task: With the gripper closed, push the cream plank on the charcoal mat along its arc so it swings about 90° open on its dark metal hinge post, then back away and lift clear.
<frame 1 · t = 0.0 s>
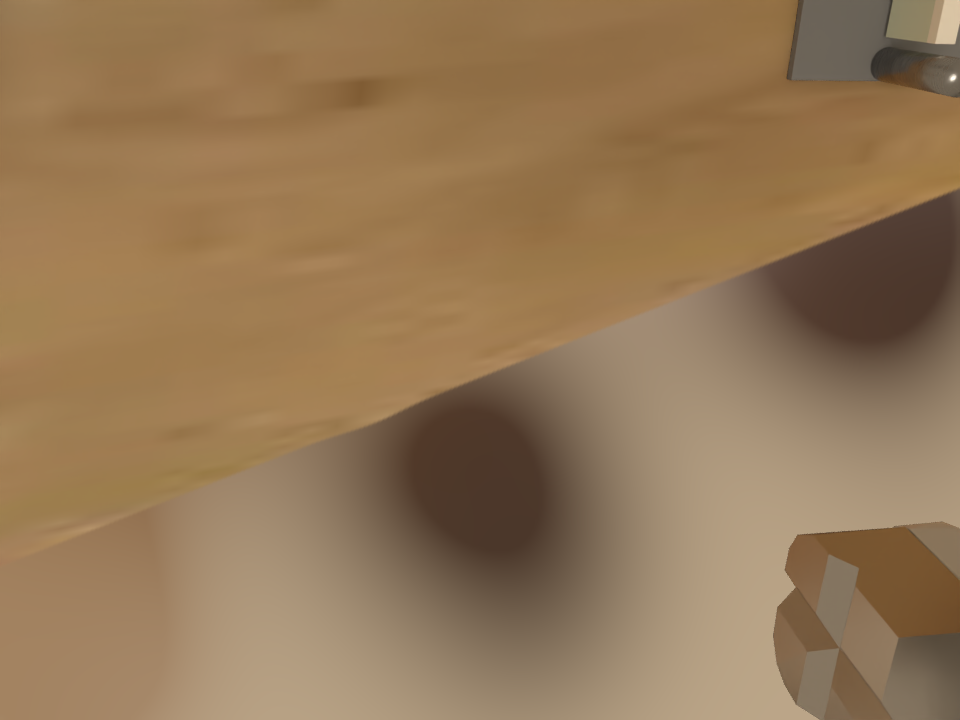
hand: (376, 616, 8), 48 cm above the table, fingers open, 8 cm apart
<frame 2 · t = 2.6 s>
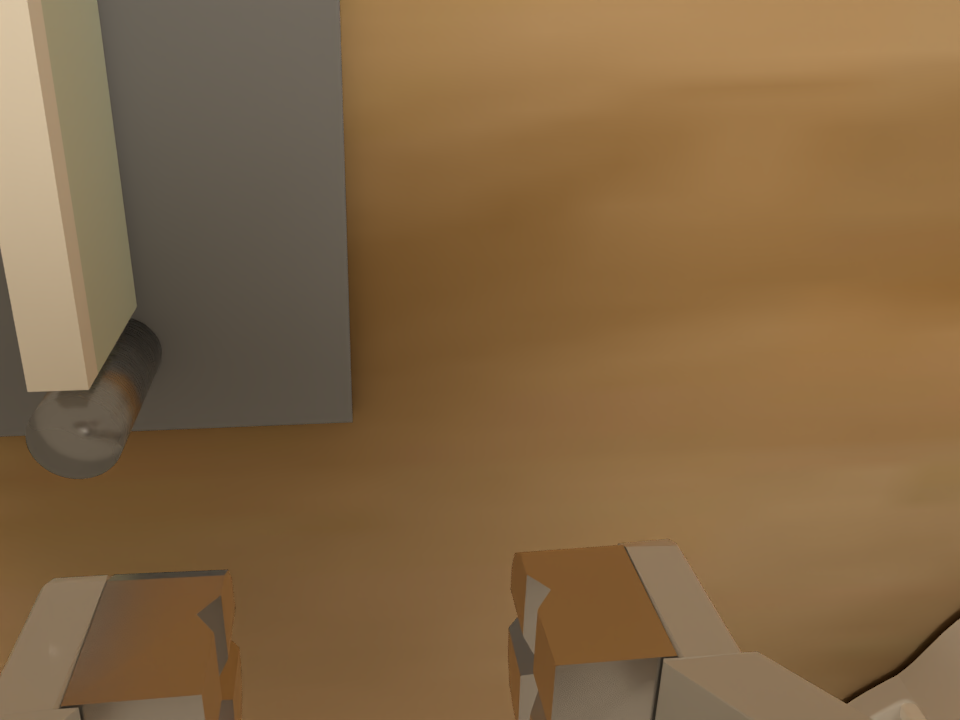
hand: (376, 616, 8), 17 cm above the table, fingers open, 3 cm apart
cream plank: (51, 109, 19), point 4 cm above the table, hinge at 0.0°
gate posts: (96, 113, 22), resting on yard mat
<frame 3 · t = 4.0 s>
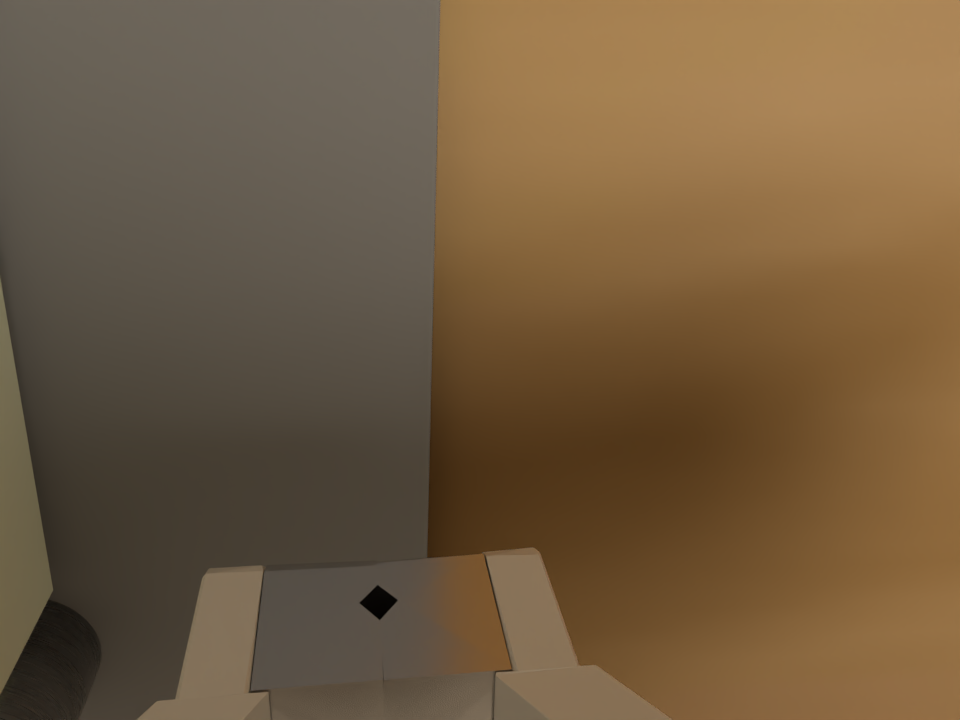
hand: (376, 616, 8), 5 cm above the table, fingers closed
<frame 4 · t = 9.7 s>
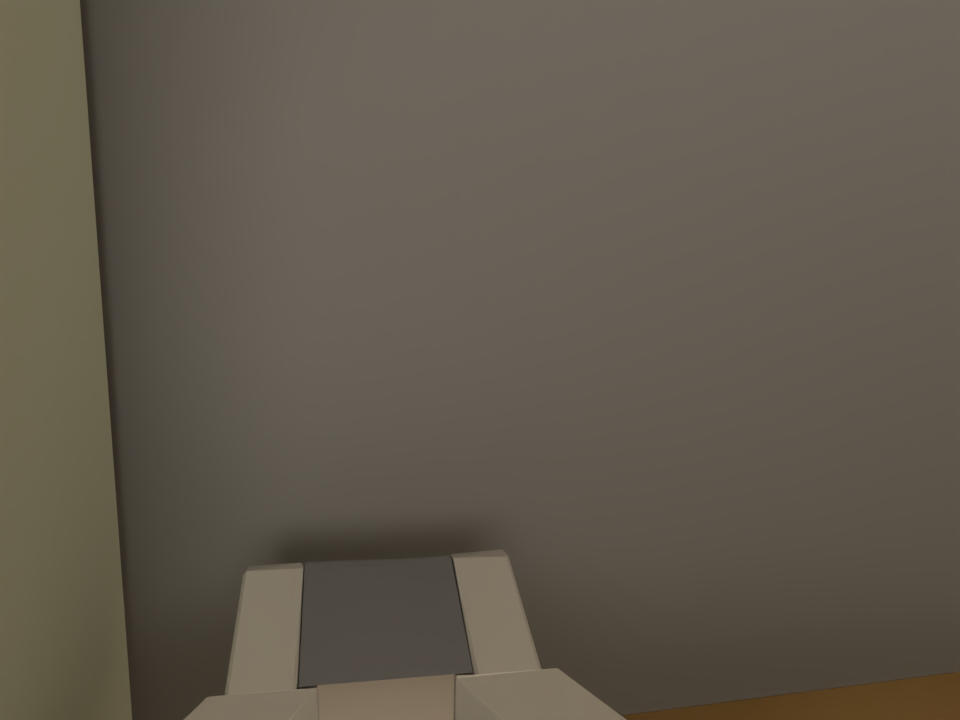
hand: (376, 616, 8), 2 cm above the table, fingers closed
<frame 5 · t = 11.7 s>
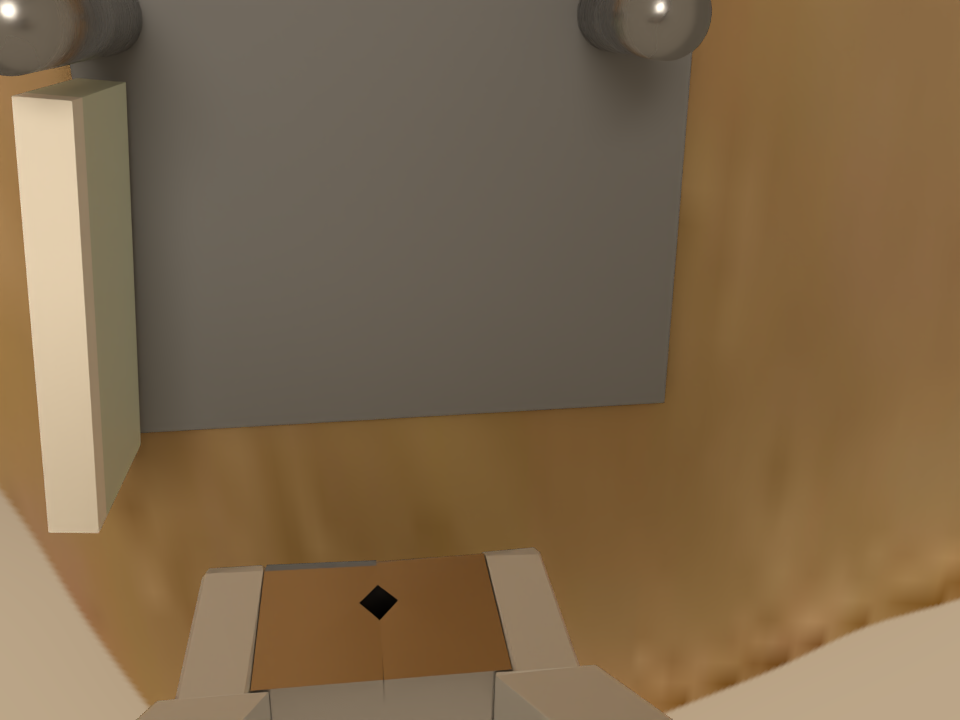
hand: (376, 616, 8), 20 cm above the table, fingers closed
yard mat: (395, 125, 26), on the table
cream plank: (88, 302, 23), point 4 cm above the table, hinge at 95.6°
gate posts: (391, 13, 25), resting on yard mat
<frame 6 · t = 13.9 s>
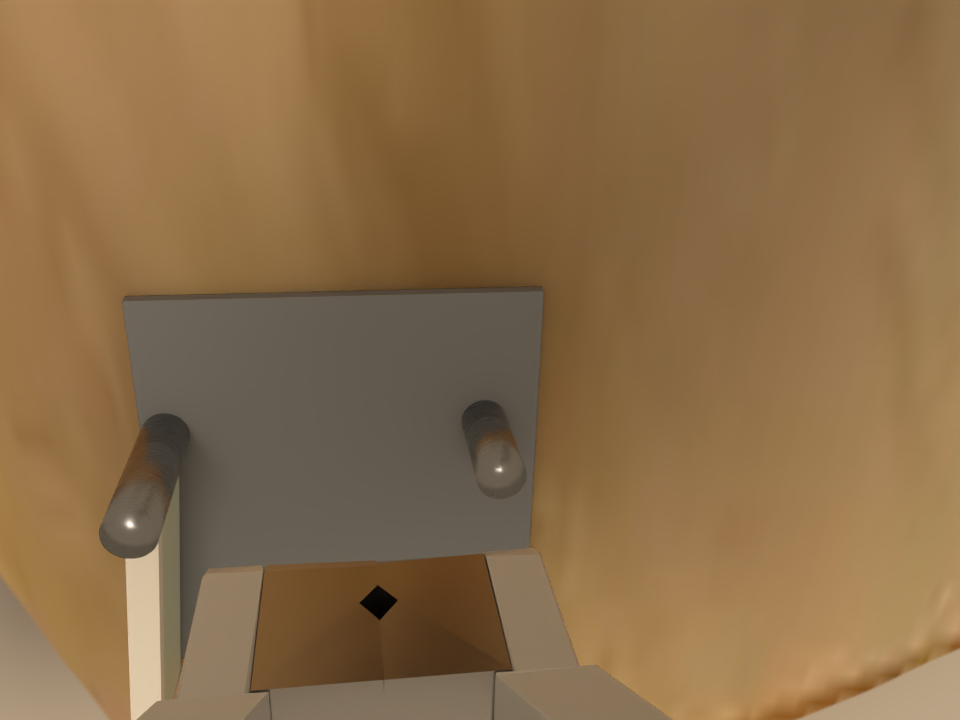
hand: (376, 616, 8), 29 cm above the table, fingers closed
yard mat: (347, 478, 41), on the table
cream plank: (155, 610, 38), point 3 cm above the table, hinge at 95.6°
gate posts: (344, 420, 40), resting on yard mat
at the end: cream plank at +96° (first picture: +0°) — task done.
